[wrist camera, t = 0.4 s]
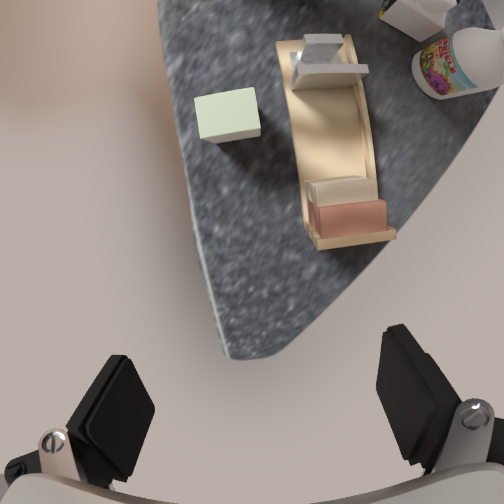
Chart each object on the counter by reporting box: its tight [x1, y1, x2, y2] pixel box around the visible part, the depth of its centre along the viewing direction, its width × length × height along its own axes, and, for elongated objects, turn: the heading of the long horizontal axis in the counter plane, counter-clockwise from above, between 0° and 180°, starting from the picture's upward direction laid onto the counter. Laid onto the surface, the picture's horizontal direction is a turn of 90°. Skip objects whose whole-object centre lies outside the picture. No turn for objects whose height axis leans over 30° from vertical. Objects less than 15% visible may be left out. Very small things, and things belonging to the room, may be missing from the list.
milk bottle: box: [411, 27, 504, 100], centre depth 18 cm, size 8×8×20 cm
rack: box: [276, 34, 396, 250], centre depth 27 cm, size 24×9×9 cm, turn 9°
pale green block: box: [194, 87, 261, 143], centre depth 28 cm, size 4×6×9 cm
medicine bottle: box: [379, 0, 460, 42], centre depth 19 cm, size 7×7×12 cm
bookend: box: [289, 34, 369, 91], centre depth 25 cm, size 5×7×7 cm
